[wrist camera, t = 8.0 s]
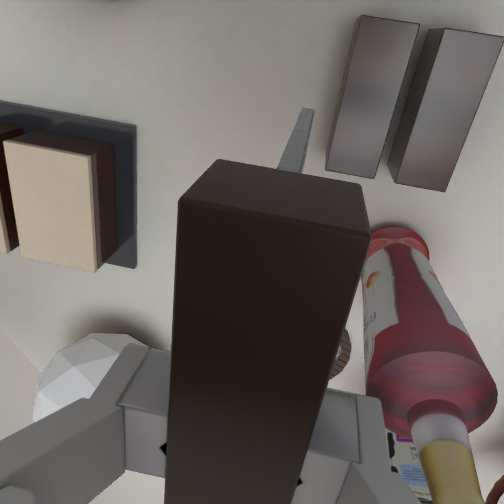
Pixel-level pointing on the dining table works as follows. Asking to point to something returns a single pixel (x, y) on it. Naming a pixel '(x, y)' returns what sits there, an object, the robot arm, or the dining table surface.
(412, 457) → the candy bar box
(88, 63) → the dining table surface
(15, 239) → the cake slice
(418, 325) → the liquor
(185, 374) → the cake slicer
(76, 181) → the cake
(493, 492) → the decorative planter
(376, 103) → the slicer stand
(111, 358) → the geometric shape
